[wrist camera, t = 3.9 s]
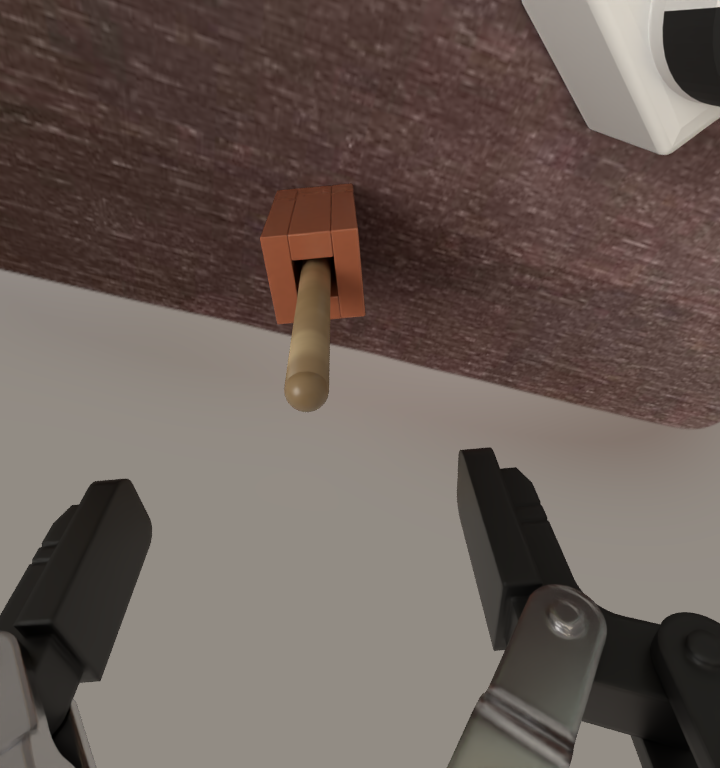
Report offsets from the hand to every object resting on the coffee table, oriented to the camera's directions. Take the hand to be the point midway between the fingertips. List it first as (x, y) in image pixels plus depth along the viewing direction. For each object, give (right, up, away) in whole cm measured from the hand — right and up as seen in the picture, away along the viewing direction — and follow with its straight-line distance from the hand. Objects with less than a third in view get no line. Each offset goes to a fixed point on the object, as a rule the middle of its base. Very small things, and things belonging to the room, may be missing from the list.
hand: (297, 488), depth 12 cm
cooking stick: (-1, +12, +17) cm, 21 cm away
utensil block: (-1, +12, +17) cm, 21 cm away
